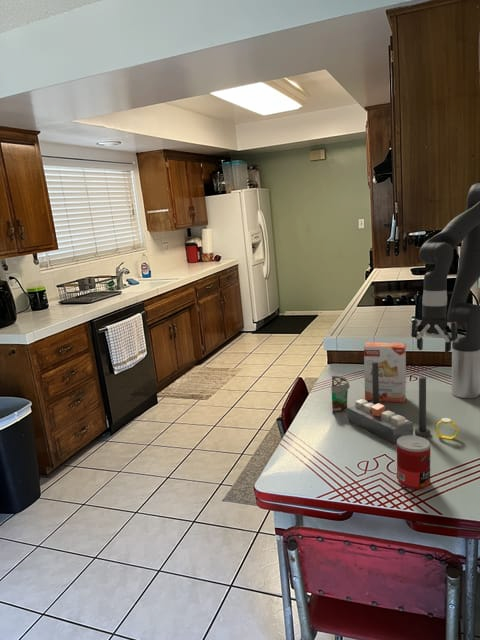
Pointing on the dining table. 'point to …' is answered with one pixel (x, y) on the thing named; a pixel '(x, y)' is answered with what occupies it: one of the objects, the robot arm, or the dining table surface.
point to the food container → (339, 393)
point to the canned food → (413, 462)
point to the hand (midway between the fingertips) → (433, 351)
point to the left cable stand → (375, 382)
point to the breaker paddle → (378, 409)
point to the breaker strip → (379, 422)
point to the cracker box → (386, 370)
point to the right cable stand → (422, 410)
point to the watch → (446, 421)
